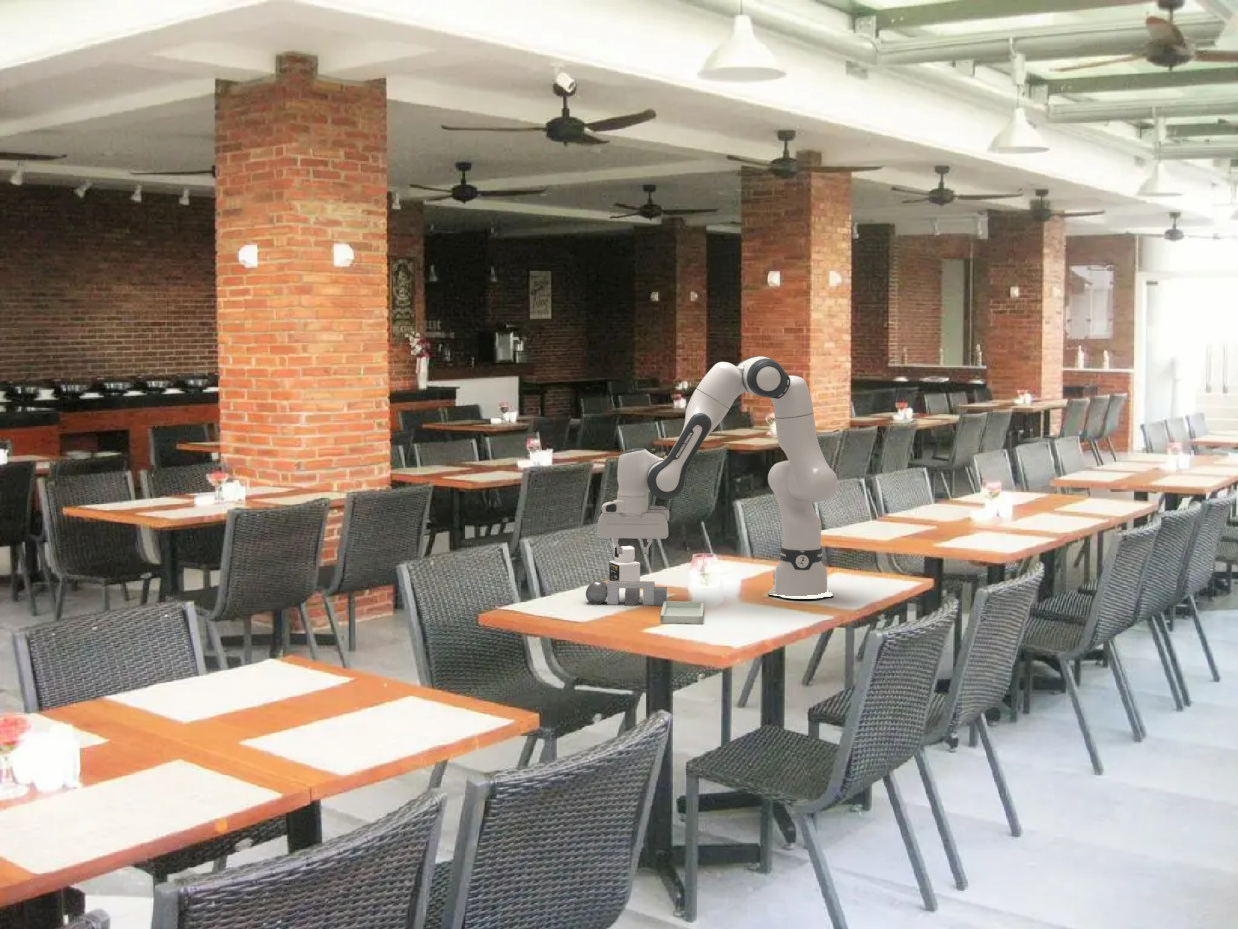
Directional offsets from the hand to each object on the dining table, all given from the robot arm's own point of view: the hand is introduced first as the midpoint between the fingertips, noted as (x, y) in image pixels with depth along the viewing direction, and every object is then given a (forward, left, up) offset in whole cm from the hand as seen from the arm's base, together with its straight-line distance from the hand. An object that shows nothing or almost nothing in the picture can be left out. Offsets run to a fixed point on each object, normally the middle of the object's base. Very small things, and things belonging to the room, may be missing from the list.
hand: (632, 554), depth 378 cm
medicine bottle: (-23, -4, -13) cm, 27 cm away
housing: (+6, -1, -13) cm, 14 cm away
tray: (+22, +15, -13) cm, 30 cm away
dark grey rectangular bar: (+2, 0, -13) cm, 13 cm away
